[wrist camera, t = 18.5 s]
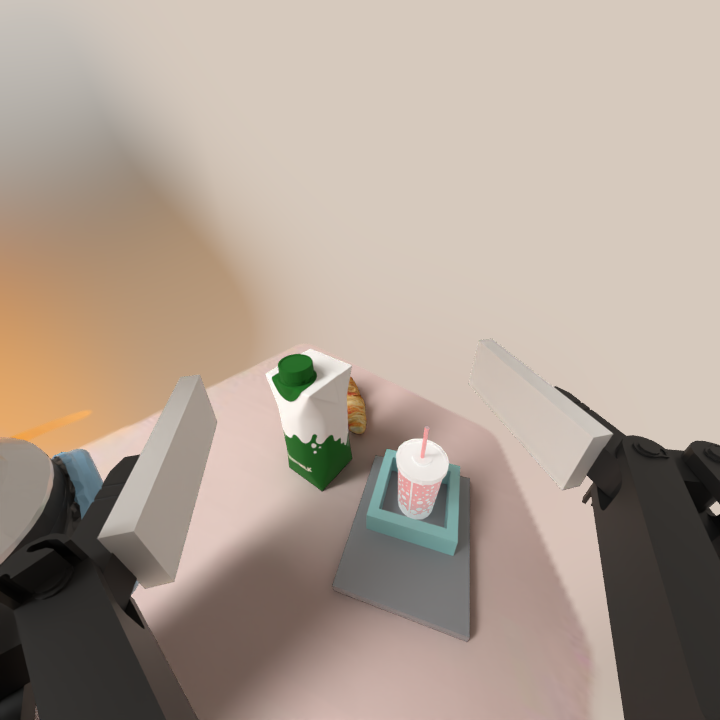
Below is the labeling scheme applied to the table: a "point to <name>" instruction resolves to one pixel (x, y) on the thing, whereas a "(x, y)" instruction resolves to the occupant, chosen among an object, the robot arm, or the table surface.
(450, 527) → the dock
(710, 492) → the robot arm
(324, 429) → the milk carton
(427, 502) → the beverage cup
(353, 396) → the croissant
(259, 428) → the table surface
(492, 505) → the table surface
